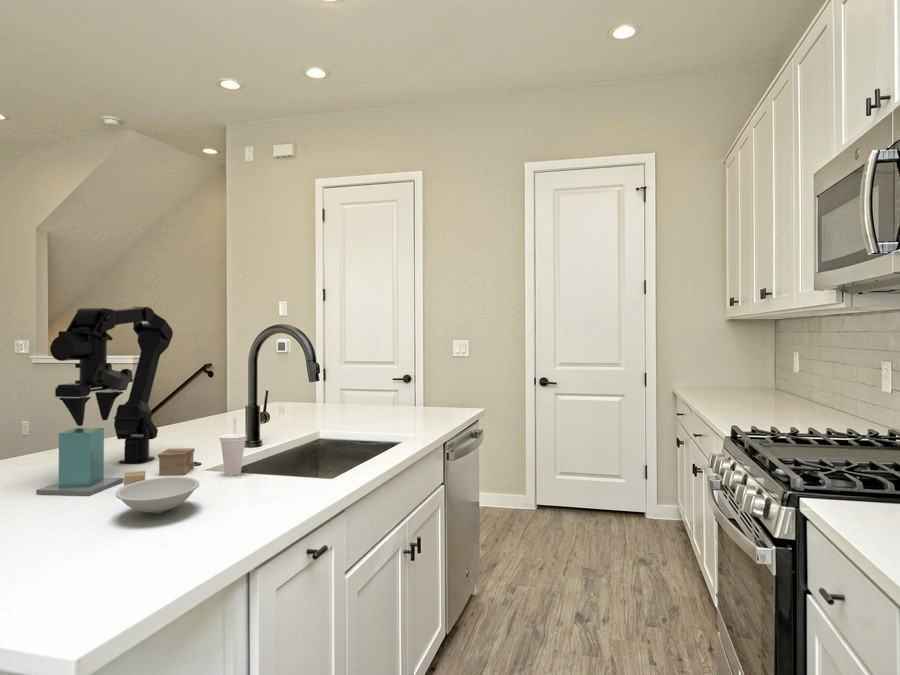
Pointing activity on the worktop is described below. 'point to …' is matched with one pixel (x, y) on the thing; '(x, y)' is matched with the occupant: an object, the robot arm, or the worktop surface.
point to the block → (133, 477)
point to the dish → (157, 493)
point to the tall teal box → (81, 457)
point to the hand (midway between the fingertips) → (92, 422)
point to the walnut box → (176, 461)
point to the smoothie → (233, 451)
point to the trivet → (80, 488)
